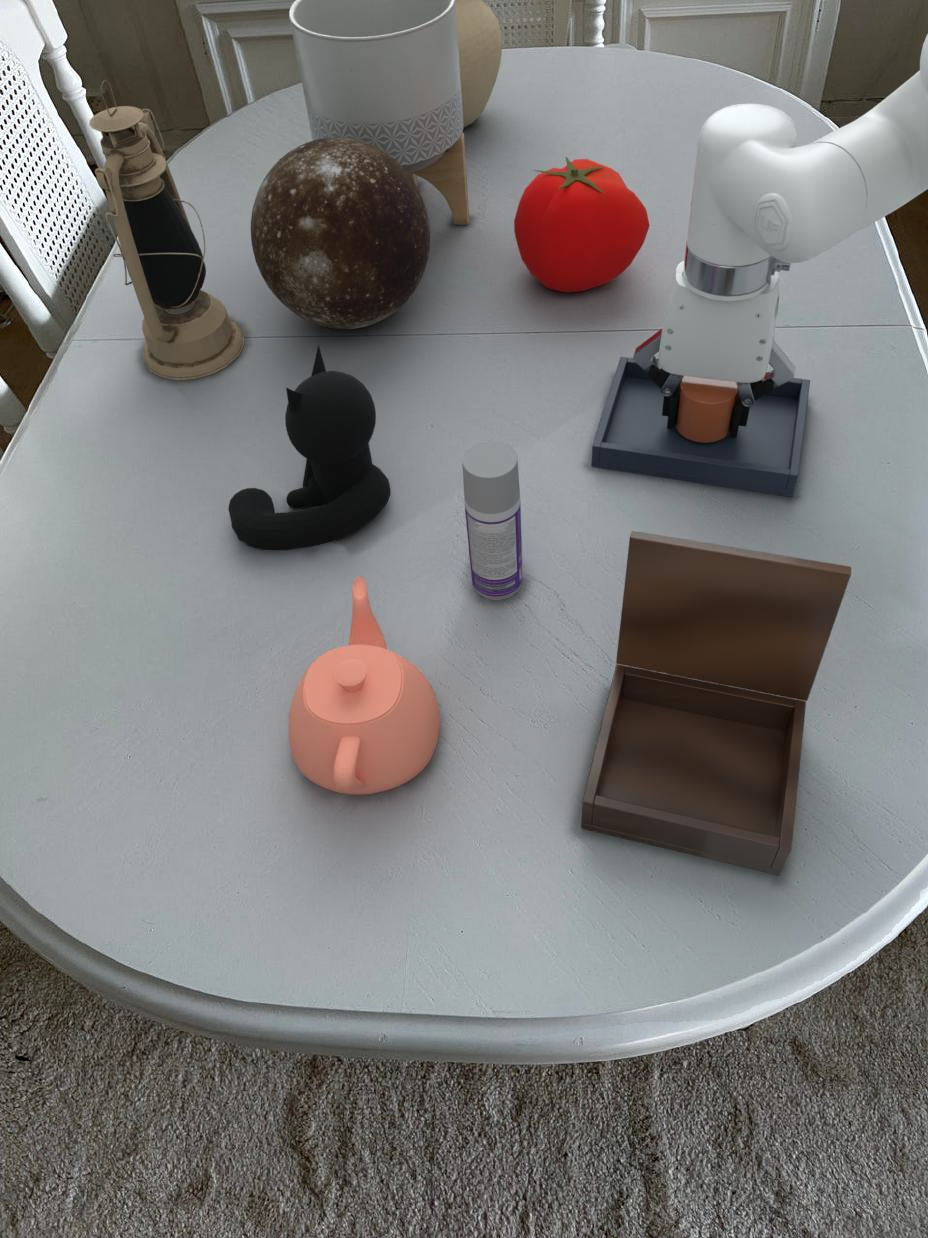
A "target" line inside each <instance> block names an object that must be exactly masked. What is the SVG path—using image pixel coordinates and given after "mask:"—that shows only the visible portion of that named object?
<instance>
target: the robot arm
mask: <svg viewBox="0 0 928 1238" xmlns="http://www.w3.org/2000/svg"><path fill="white" fill-rule="evenodd" d="M797 140H798V133H797V127H796V124H795V122H794V120H793V118H791V117H790V116H789V115H788V114H787V113H786V112H784V111H783V110H781V109H780V108H777V107H774V106H771V105H767V104H762V103H737V104H731V105H728V106H725V107H723V108H720V109H719V110H717V111H715V112H714V113H712V114H711V115H710V116H709V117H708V118H707V119H706V120H705V121H704V123H703V125H702V127H701V129H700V132H699V135H698V141H697V149H696V157H695V166H694V176H693V185H692V192H691V201H690V207H689V208H690V209H689V218H688V227H687V235H686V242H685V243H686V244H685V251H684V260H682V261H680V262H679V263H678V264H677V265H676V268H675V271H674V274H673V277H672V280H671V283H670V288H669V291H668V296H667V301H666V305H665V310H664V311H665V312H664V316H663V322H662V328H661V329H659V330H658V331H657V332H655V333H654V334H653V335H651V336H650V337H648V338H647V339H646V340H645V341H643V342H642V343H641V344H639V345H638V346H637V347H635V349H634V353H633V356H632V358H633V360H634V361H635V362H636V363H637V364H638V365H639V366H640V367H641V368H642V369H643V370H644V371H647V372H648V376H649V377H650V378H651V379H652V380H653V381H654V382H655V383H656V384H657V385H658V386H659V387H660V388H661V393H662V395H664V401H663V410H662V416H668V422H667V429H672V428H674V426H675V422H676V414H677V406H678V398H679V389H680V381H681V379H682V378H683V376H690V377H698V378H706V379H714V380H723V381H732V382H736V384H737V387H738V396H737V400H736V404H735V409H734V415H733V420H732V426H731V431H730V436H732V437H733V438H737V433H738V428H739V426H744V427H746V425H747V420H748V415H749V409H750V406H752V405H753V404H754V401H755V400H757V399H759V398H761V397H763V396H764V395H766V394H768V393H770V392H771V391H772V390H773V388H775V387H779V386H781V385H783V384H785V383H786V382H788V381H790V380H792V379H793V378H795V374H796V366H795V364H794V363H793V362H792V361H791V360H790V358H789V357H788V356H787V355H786V353H785V352H784V351H783V350H782V348H781V347H780V346H779V345H778V343H777V342H776V341H775V340H774V339H775V334H776V327H777V320H778V314H779V313H778V312H779V307H780V306H779V304H780V274H779V273H780V272H781V271H783V272H790V271H791V264H799V263H800V264H801V263H804V262H807V261H810V260H812V259H815V258H816V257H818V256H820V255H822V254H823V253H825V252H827V251H829V250H831V249H832V248H834V247H836V246H837V245H839V244H841V243H843V242H844V241H846V240H847V239H849V238H850V237H852V236H853V235H855V234H856V233H858V232H860V231H862V230H864V229H865V228H867V227H869V226H871V225H872V224H874V223H876V222H878V221H879V220H881V219H883V218H884V217H886V216H888V215H890V214H892V213H893V212H895V211H897V210H899V209H900V208H901V207H903V206H904V205H906V204H907V203H909V202H911V201H913V200H914V199H915V198H917V197H918V196H919V195H921V194H923V193H924V192H926V191H927V190H928V33H927V34H926V36H925V39H924V42H923V43H922V48H921V52H920V57H919V70H918V71H917V72H916V73H914V75H912V76H911V77H910V78H909V79H907V80H906V81H905V82H904V83H903V84H901V85H900V86H899V87H898V88H896V89H895V90H894V91H893V92H891V93H890V94H889V95H887V97H885V98H884V99H883V100H881V101H880V102H879V103H878V104H876V105H875V106H873V108H871V109H870V110H868V111H866V112H865V113H864V114H863V115H861V116H860V117H858V118H857V119H854V120H853V121H851V122H849V123H847V124H846V125H843V126H841V127H839V128H837V129H835V130H833V131H831V132H829V133H828V134H825V135H824V136H822V137H820V138H818V139H815V140H814V141H812V142H811V143H808V144H805V145H800V146H797ZM657 353H658V358H656V354H657ZM769 366H770V367H771V368H772V369H773V370H771V371H768V367H769Z"/></svg>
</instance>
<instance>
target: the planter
mask: <svg viewBox="0 0 928 1238" xmlns="http://www.w3.org/2000/svg"><path fill="white" fill-rule="evenodd" d="M288 15H289V17H288V18H289V22H290V28H291V33H292V39H293V43H294V49H295V56H296V60H297V65H298V70H299V74H300V81H301V87H302V91H303V96H304V102H305V108H306V113H307V118H308V124H309V129H310V134H311V135H310V136H311V141H314V140H318V139H322V138H332V137H342V138H351V139H355V140H359V141H363V142H366V143H368V144H371V145H373V146H375V147H377V148H379V149H380V150H382V151H384V152H385V153H387V154H388V155H390V156H391V157H392V158H393V159H395V160H396V161H397V162H398V163H399V164H400V165H401V166H402V167H403V168H404V169H405V170H406V172H407V173H408V174H409V175H410V177H411V178H412V180H413V181H414V183H415V184H416V186H417V187H418V186H419V179H418V177H419V178H422V179H424V180H425V181H427V182H428V183H429V184H430V185H432V186H433V187H434V188H435V189H436V190H437V191H438V192H439V193H440V194H441V195H442V196H443V198H444V200H445V201H446V203H447V205H448V208H449V210H450V212H451V215H452V219H453V224H454V225H458V226H459V225H463V226H467V225H469V223H470V208H469V207H470V205H469V204H470V203H469V187H468V176H467V175H468V174H467V173H468V172H467V159H466V145H465V133H464V132H463V131H464V128H463V109H462V93H461V78H460V63H459V47H458V32H457V17H456V2H455V0H295V1H294V2H293V3H292V4H291V6H290V8H289V12H288Z"/></svg>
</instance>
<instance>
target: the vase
mask: <svg viewBox="0 0 928 1238" xmlns="http://www.w3.org/2000/svg"><path fill="white" fill-rule="evenodd" d="M455 2H456V17H457V32H458V47H459V63H460V78H461V93H462V109H463V129H464V128H467V127H468V126H470V125H472V124H473V123H474V122H475V121H477V119H478V118H479V117H480V116H481V115H482V113H483V112H484V111H485V108H486V107H487V104H488V103H489V100H490V98H491V95H492V92H493V90H494V87H495V85H496V81H497V79H498V75H499V71H500V66H501V62H502V61H501V60H502V54H503V53H502V51H503V37H502V32H501V27H500V24H499V21H498V19H497V17H496V15H495V14H494V12H493V11H492V9H491V8H490V7H489V6H488V5H487V4H486V3H485V2H483V1H482V0H455Z"/></svg>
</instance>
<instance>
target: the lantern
mask: <svg viewBox="0 0 928 1238" xmlns="http://www.w3.org/2000/svg"><path fill="white" fill-rule="evenodd" d="M104 83H107V84H108V86H109V89H110V92H111V95H112V100H113V103H114V106H112V107H111V108H108V105H107V103H106V100H105V98H104V94H103V85H104ZM100 95H101V98H102V101H103V103H104V106H105V108H106V109H104V110H102V111H99V112H98V113H96V114H94V115H93V116H92V117H91V119H89V123H88V124H89V126H90V128H91V129H92V130H95V131H96V132H97V131H98V132H100V133H101V136H102V137H101V139H100V142H99V144H100V147H101V151H102V154H103V156H104V158H105V162H104V165H103V167H102V168H95V170H94V173H95V175H96V182H97V184H98V187H100V189H103V190H105V194H106V199H107V203H108V207H109V210H110V211H108V212H105V220H106V222H107V225H108V227H109V230H110V231H111V233H112V235H113V238H114V240H115V241H116V244H117V246H118V248H119V251H120V253H114V254H113V255H112V257H113V258H122V260H123V269H124V276H125V277H124V285H125V286H129V285H131V284H132V286H133V289H134V292H135V295H136V298H137V301H138V303H139V306H140V309H141V312H142V315H143V320H142V323H141V324H142V325H141V330H142V331H141V332H142V333H143V336H144V339H145V341H146V343H145V345H144V348H143V357H142V359H143V361H142V362H143V363H144V365H145V366H146V368H147V369H148V370H149V372H151V373H152V374H154V375H156V376H158V377H160V378H162V379H167V380H173V381H185V380H186V381H187V380H197V379H201V378H203V377H208V376H212V375H214V374H216V373H218V372H220V371H221V370H223V369H225V368H227V367H229V366H230V365H231V364H232V363H233V362H234V361H235V360H236V359H237V358H238V357H239V356H240V355H241V353H242V351H243V349H244V347H245V335H244V331H242V330H241V328H240V327H239V325H238V324H236V323H235V322H234V321H233V320H231V319H230V318H229V314H228V311H227V307H226V306H225V304H223V302H222V300H220V299H218V298H217V297H215V296H213V295H212V294H210V293H209V292H206V291H205V290H202V289H203V286H204V283H205V279H206V275H207V267H206V263H205V256H206V255H205V254H206V237H205V232H204V231H205V229H204V226H203V223H202V219H201V217H200V215H199V213H198V211H197V209H196V208H195V207H194V206H193V205H192V204H191V203H190V202H188V201H186V200H182V199H181V196H180V193H179V190H178V188H177V186H176V183H175V181H174V180H175V179H174V177H173V175H172V172H171V170H170V167H169V164H168V161H167V160H166V156H165V155H164V152H163V151H165V141H164V139H163V136H162V133H161V131H160V128H159V126H158V123H157V121H156V118H155V115H154V113H153V112H152V111H151V110H150V109H149V108H142V109H141V108H139V107H136V106H131V105H123V106H122V105H121V106H117V102H116V99H115V95H114V92H113V89H112V86H111V84H110V81H108V80H107V79H104V80H103V81H102V82H101V83H100ZM156 130H157V132H158V135H159V138H160V141H161V144H162V147H161V145H160V143H159V141H158V139H157V137H156V135H155V131H156ZM183 203H185V204H187V205H189V206H190V207H192V209H193V210H194V211H195V214H196V216H197V218H198V220H199V224H200V227H201V231H202V237H203V238H202V239H203V253H202V249H201V247H200V244H199V242H198V240H197V238H196V236H195V234H194V231H193V229H192V228H191V224H190V221H189V218H188V216H187V213H186V210H185V208H184V205H183ZM109 215H111V218H112V221H113V224H114V228H115V232H116V234H115V232H114V229H113V227H112V224H111V222H110V220H109ZM127 272H128V273H127ZM128 275H129V278H130V280H131V281H129V282H128Z"/></svg>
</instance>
